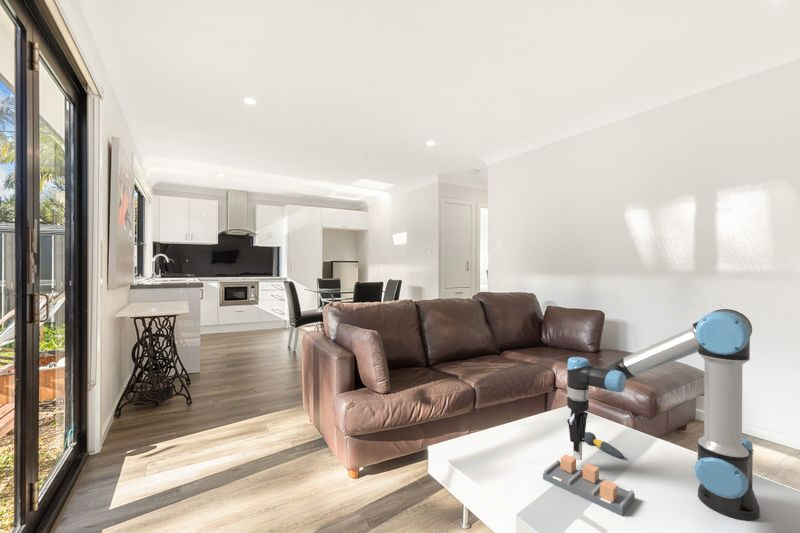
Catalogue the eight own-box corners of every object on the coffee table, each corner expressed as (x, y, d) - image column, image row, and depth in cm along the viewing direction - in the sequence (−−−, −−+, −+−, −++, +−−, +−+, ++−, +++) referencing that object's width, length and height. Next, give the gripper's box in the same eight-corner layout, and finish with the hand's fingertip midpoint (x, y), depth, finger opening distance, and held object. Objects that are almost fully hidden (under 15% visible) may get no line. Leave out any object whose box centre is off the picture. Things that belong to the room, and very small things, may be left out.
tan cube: (576, 469, 137) (576, 458, 137) (571, 473, 134) (571, 462, 134) (565, 464, 140) (565, 454, 140) (560, 468, 137) (560, 458, 137)
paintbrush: (628, 457, 149) (628, 445, 149) (622, 461, 147) (622, 449, 147) (582, 438, 166) (582, 427, 166) (576, 441, 164) (576, 429, 164)
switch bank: (634, 499, 123) (634, 490, 123) (622, 516, 115) (622, 506, 115) (558, 467, 142) (558, 459, 142) (543, 479, 134) (543, 471, 134)
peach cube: (598, 478, 131) (599, 467, 131) (594, 483, 128) (594, 471, 128) (587, 473, 134) (587, 463, 134) (582, 478, 131) (582, 467, 131)
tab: (617, 496, 121) (617, 484, 120) (613, 502, 118) (613, 489, 118) (604, 491, 124) (604, 479, 123) (599, 496, 121) (599, 484, 121)
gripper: (575, 391, 149) (575, 449, 149) (560, 399, 140) (560, 460, 141) (594, 396, 143) (594, 456, 144) (580, 405, 135) (580, 468, 135)
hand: (577, 458), depth 142 cm, fingers closed
